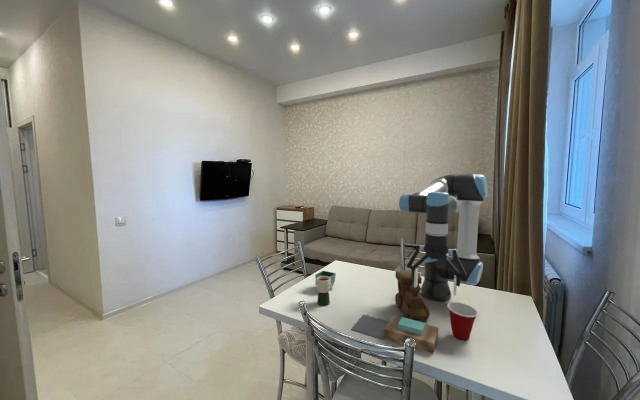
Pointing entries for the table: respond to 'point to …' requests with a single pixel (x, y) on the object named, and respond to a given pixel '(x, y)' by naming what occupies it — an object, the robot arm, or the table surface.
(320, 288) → the character mug
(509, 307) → the table surface
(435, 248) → the robot arm
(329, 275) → the flower pot
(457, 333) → the plastic cup
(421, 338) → the brown rectangular block
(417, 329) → the teal rectangular block
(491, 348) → the table surface
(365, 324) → the mat
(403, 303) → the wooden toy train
